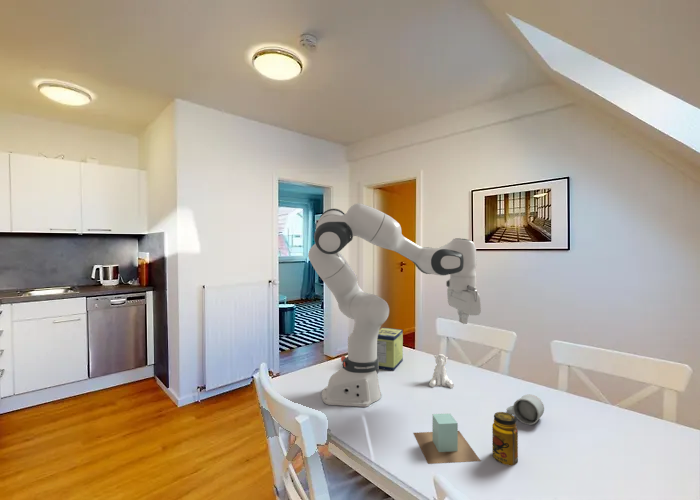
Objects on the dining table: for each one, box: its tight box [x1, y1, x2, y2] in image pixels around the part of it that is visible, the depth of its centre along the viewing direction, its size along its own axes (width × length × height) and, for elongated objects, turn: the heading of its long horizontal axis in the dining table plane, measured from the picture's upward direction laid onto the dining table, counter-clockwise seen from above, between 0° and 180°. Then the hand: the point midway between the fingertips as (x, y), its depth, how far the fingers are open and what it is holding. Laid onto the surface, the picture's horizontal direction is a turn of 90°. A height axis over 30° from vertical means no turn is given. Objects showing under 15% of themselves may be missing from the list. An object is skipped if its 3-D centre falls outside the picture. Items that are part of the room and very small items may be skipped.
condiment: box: [491, 411, 519, 466], centre depth 87 cm, size 7×8×12 cm
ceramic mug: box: [506, 394, 545, 426], centre depth 108 cm, size 11×8×8 cm
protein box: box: [377, 327, 404, 372], centre depth 158 cm, size 10×16×16 cm
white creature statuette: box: [428, 353, 455, 389], centre depth 135 cm, size 10×9×12 cm
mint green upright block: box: [432, 413, 459, 452], centre depth 91 cm, size 5×5×8 cm
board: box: [413, 430, 482, 465], centre depth 91 cm, size 14×14×1 cm
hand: (463, 323), depth 117 cm, fingers closed
